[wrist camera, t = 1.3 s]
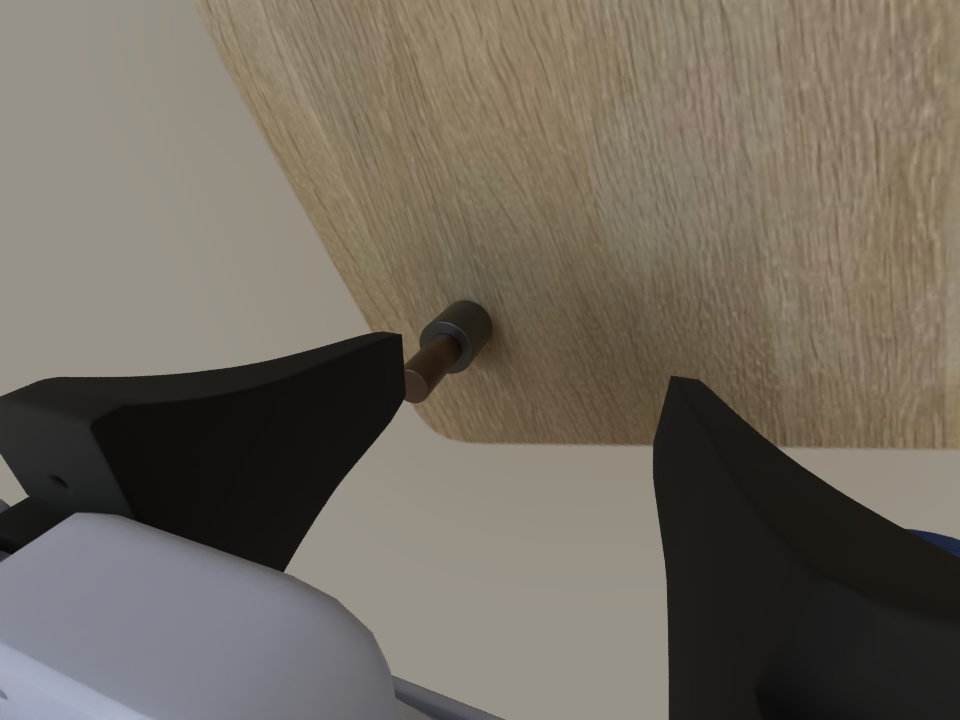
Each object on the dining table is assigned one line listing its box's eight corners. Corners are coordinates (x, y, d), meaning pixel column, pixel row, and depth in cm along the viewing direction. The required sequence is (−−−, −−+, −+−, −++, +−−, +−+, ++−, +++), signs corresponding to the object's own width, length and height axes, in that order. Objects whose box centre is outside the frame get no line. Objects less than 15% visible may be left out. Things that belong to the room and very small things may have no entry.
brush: (491, 351, 23) (443, 421, 17) (444, 344, 24) (382, 409, 18) (492, 303, 22) (440, 361, 16) (442, 297, 22) (375, 350, 16)
